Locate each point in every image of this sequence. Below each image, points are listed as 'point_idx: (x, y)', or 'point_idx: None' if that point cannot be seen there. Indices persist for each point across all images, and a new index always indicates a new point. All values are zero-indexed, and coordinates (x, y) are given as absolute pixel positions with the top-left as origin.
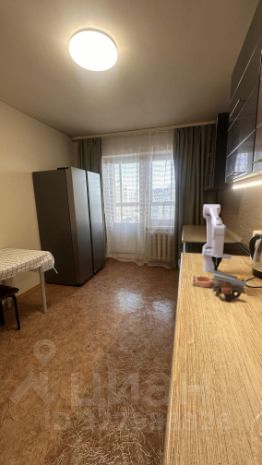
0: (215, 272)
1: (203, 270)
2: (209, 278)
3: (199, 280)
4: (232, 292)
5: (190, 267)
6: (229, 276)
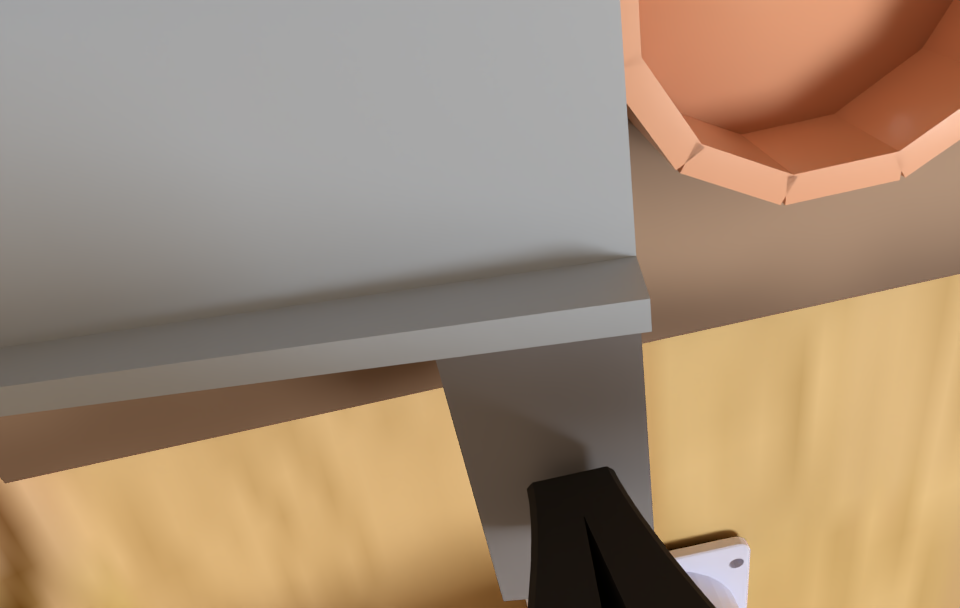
0: (569, 285)
1: (741, 592)
2: (680, 121)
3: (891, 60)
4: None
5: (931, 601)
6: (69, 342)
